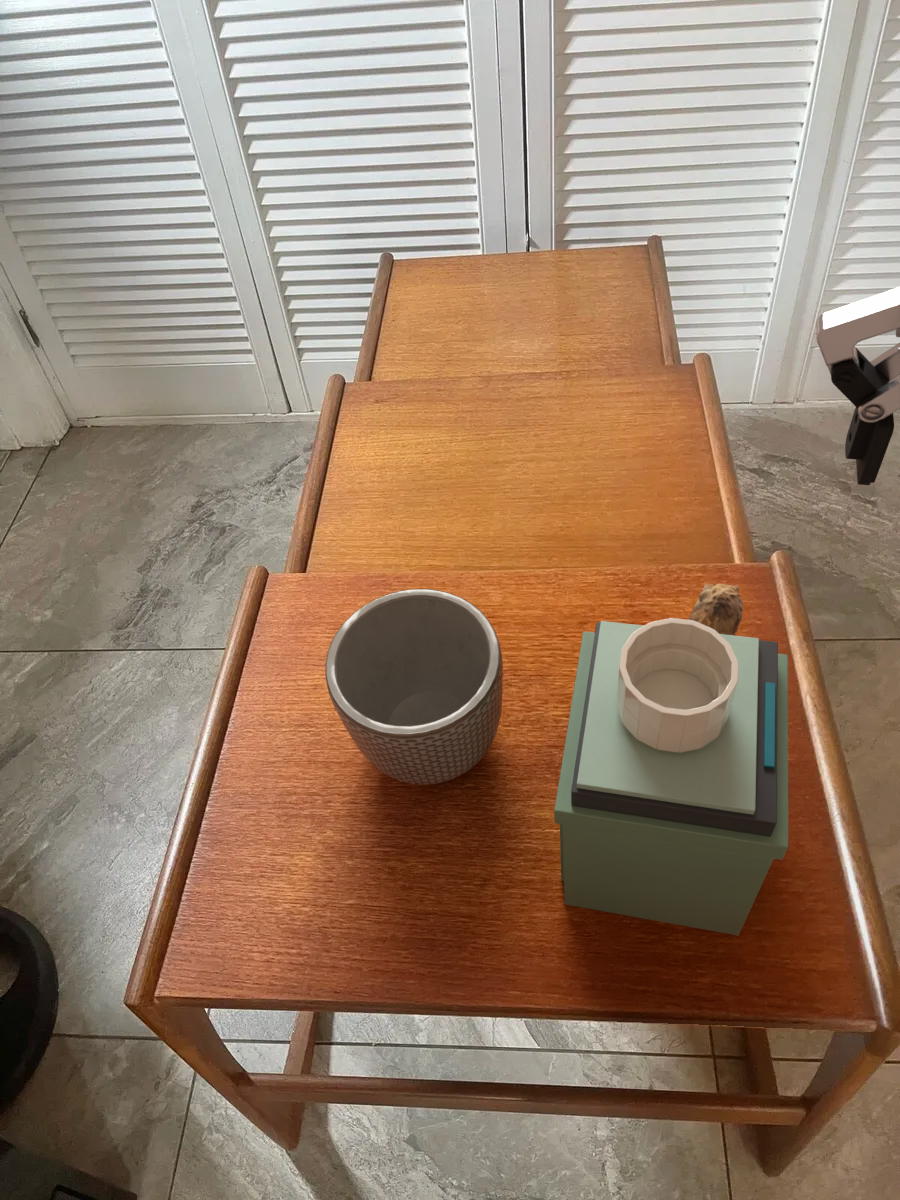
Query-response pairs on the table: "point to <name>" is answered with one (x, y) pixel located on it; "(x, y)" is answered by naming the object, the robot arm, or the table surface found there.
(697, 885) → the stand
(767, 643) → the scale
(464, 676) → the planter
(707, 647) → the bowl
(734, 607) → the lion figurine
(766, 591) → the table surface
